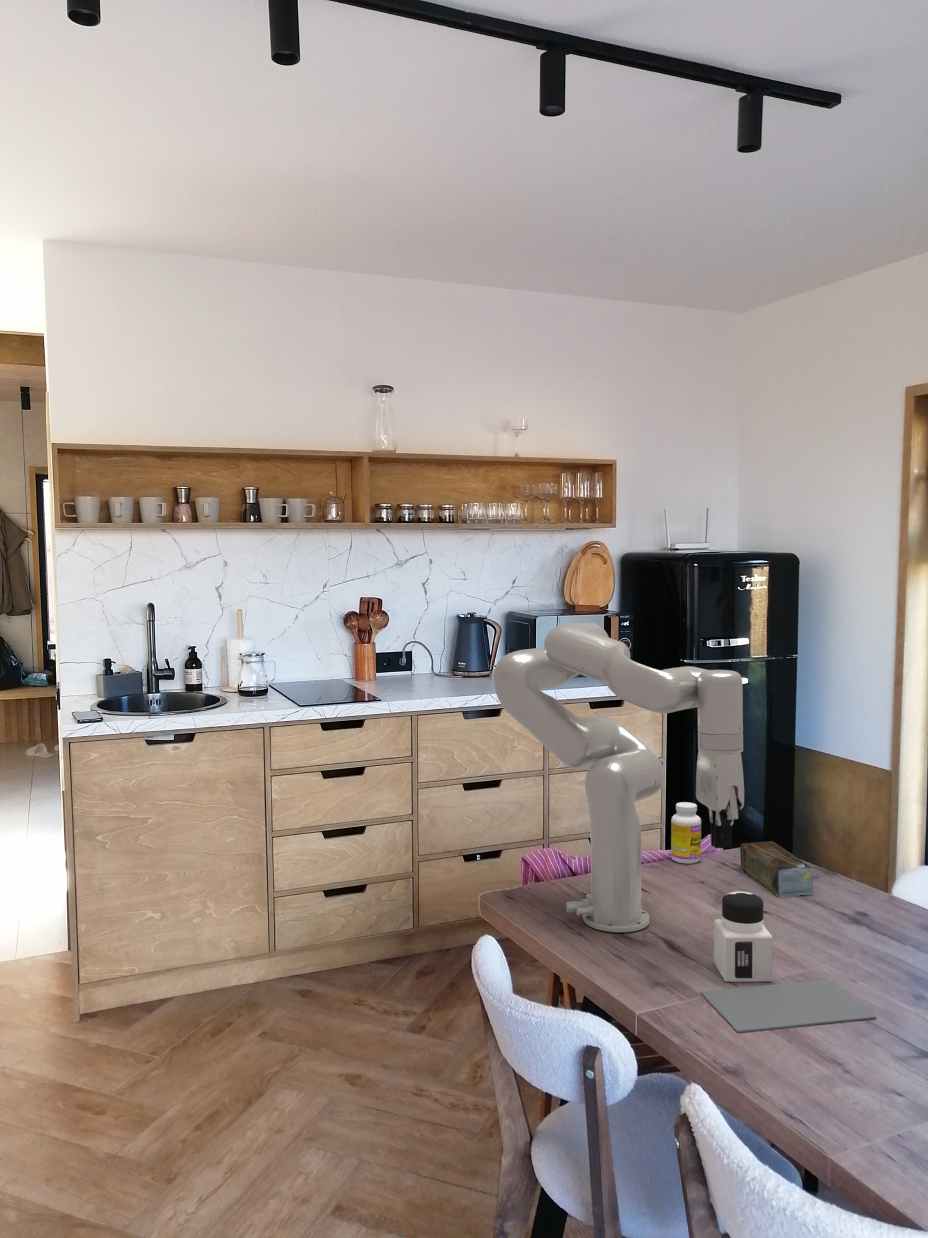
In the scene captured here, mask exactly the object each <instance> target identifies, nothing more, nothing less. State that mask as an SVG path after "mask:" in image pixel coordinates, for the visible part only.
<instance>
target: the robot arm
mask: <svg viewBox="0 0 928 1238" xmlns="http://www.w3.org/2000/svg"><path fill="white" fill-rule="evenodd" d="M626 644H627V643H624V642H623V641H620V640H617V639H614V638H611V637H609V634H608V633H607V632H606V630H605V629H604V627H602V626H600V625H599V624H598V623H595V622H589V621H588V622H585V621H583V622H575V623H574V622H573V623H572V622H570V623H564V624H560V625H557V626H555V627H553V628H552V629H550V631H549V632H548V633H547V635H546V636H545V639H544V641H543V647H537V648H528V649H519V650H515V651H512V652H510V653H506V654H505V655H503V656H502V657H501V658H500V659H499V660H498V661H497V662H496V665H495V667H494V670H493V686H494V691H495V694H496V697H497V699H498V701H499V703H500V704H501V706H502V708H503V709H504V710H505V712H506V713H508V714H509V715H510V716H511V717H512V718H513V719H514V720H515V721H517V723H519V724H520V725H521V726H523V727H524V728H525V729H526V730H527V731H528V732H530V733H531V734H532V735H533V736H534V738H536V739H537V740H538V741H539V742H540V743H541V744H542V746H544V747H545V748H546V749H547V750H548V751H549V752H551V754H552V755H554V756H555V757H556V759H558V760H559V761H560V762H561V763H562V764H563V765H565V766H566V767H568V768H570V769H571V770H572V769H573V770H582V769H586V768H589V769H588V770H587V773H586V776H585V781H584V782H585V783H584V786H585V787H584V788H585V794H586V799H587V805H588V811H589V812H588V813H589V832H590V834H589V837H590V838H589V840H590V893H587V894H586V895H585V897H586V898H584V899H581V901H566V902H565V909H566V913H573V912H574V913H575V912H576V915H577V916H582V921H583V922H584V923H585V924H586V925H587V926H589V927H591V928H593V929H595V930H599V931H604V932H608V933H632V932H637V931H640V930H641V931H642V930H643V929H645V928H646V927H648V926H649V925H650V922H651V921H650V920H651V919H650V918H651V916H650V915H649V913H648V912H647V911H646V910H644V909H643V908H642V827H641V822H640V818H639V815H638V812H637V809H636V806H635V804H636V803H637V802H639V801H641V800H644V799H648V798H649V797H652V796H654V795H656V794H657V793H659V791H660V790H661V789H662V788H663V785H664V783H665V776H666V775H665V769H664V766H663V764H662V762H661V760H660V759H659V758H658V756H657V755H656V754H655V752H653V751H652V750H651V749H650V748H649V747H648V746H647V745H646V744H644V743H643V742H642V741H641V740H640V739H639V738H637V737H636V736H635V735H634V734H632V732H630V731H629V730H628V729H627V728H626V727H625V726H623V725H622V724H621V723H620V722H618V721H617V720H615V719H613V718H610V717H608V716H605V715H592V716H587V717H580V716H578V715H576V714H575V713H573V712H572V711H570V709H568V708H567V707H566V706H565V705H564V704H563V703H562V702H560V700H558V699H556V698H555V697H554V696H550V695H549V694H547V693H545V692H543V691H541V690H543V689H549V688H550V689H551V688H554V687H555V688H556V687H559V686H561V685H563V684H565V683H567V682H569V681H571V680H572V679H574V678H576V677H577V676H579V675H582V676H584V677H586V678H588V679H592V680H593V681H596V682H599V683H601V684H604V685H606V686H607V688H608V689H609V691H610V692H612V693H613V694H614V695H615V696H616V697H617V698H619V699H620V700H623V701H625V702H627V703H629V704H631V705H634V706H636V707H639V708H642V709H644V710H646V711H650V712H652V713H656V714H670V713H674V712H679V711H683V710H689V709H694V708H697V750H698V752H697V759H696V774H695V798H696V800H697V802H699V803H701V805H704V806H705V807H707V809H708V813H709V815H708V816H709V823H710V845H711V846H712V847H714V849H726V848H727V849H729V848H732V847H733V825H734V820H738V819H739V811H741V810H742V809H743V808H744V806H745V784H744V783H745V782H744V769H743V768H744V767H743V760H742V752H744V724H743V722H744V721H743V720H744V719H743V718H744V716H743V714H744V712H743V709H744V708H743V706H744V705H743V704H744V703H743V700H744V697H743V694H744V693H743V678H742V676H741V674H740V673H739V672H738V671H735V670H729V669H705V668H701V667H698V666H697V667H696V666H689V665H688V666H687V665H686V666H680V667H671V668H664V669H661V670H660V669H657V668H653V667H650V666H647V665H645V664H641V663H639V662H637V661H634V660H632V659H631V652H630V649H629V647H628V646H627V645H626Z"/></svg>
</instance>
